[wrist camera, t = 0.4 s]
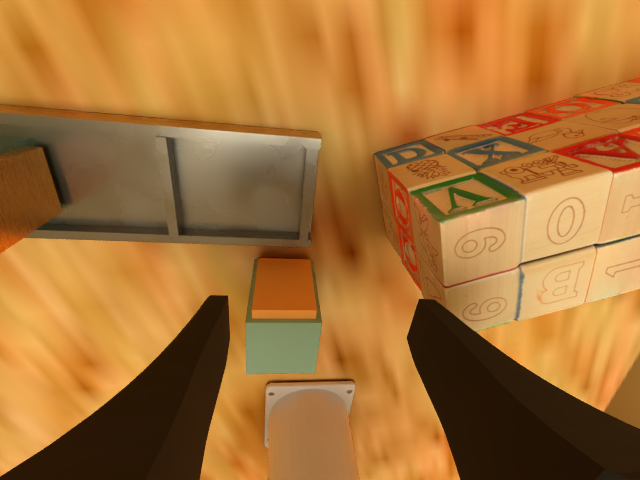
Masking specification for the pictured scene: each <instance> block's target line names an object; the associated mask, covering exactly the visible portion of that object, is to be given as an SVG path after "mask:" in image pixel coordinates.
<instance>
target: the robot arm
mask: <svg viewBox="0 0 640 480" xmlns="http://www.w3.org/2000/svg"><path fill="white" fill-rule="evenodd" d="M229 340H230V330H229V306H228V296H217V295H210V296H209V297H208V298H207V299H206V300H205V302H204V303H203V305H202V306H201V307H200V309H199V310H198V311H197V313H196V314H195V315H194V316H193V318H192V319H191V320H190V321H189V323H188V324H187V325H186V326H185V327H184V328H183V330H182V331H181V332H180V333H179V334H178V335H177V337H176V338H175V339H174V340H173V341H172V342H171V343H170V344H169V345H168V346H167V347H166V348H165V350H164V351H163V352H162V353H161V354H160V355H159V356H158V357H157V358H156V359H155V360H154V361H153V362H152V363H151V364H150V365H149V366H148V367H147V368H146V369H145V370H144V371H143V372H142V373H140V374H139V375H138V376H137V377H136V378H135V379H134V380H133V381H132V382H130V383H129V384H128V385H127V386H126V387H125V388H124V389H122V390H121V391H120V392H119V393H118V394H116V395H115V396H114V397H113V398H112V399H110V400H109V401H108V402H107V403H106V404H104V405H103V406H102V407H101V408H99V409H98V410H97V411H95V412H94V413H93V414H92V415H90V416H89V417H88V418H86V419H85V420H83V421H82V422H81V423H79V424H78V425H77V426H75V427H74V428H72V429H71V430H70V431H68V432H67V433H66V434H64V435H63V436H61V437H60V438H59V439H57V440H56V441H54V442H53V443H52V444H50V445H49V446H47V447H46V448H44V449H43V450H41V451H40V452H38V453H37V454H35V455H33V456H32V457H30V458H29V459H27V460H26V461H24V462H23V463H21V464H19V465H18V466H16V467H15V468H13V469H12V470H10V471H8V472H7V473H5V474H4V475H2V476H1V477H0V480H200V474H201V468H202V462H203V456H204V451H205V445H206V440H207V436H208V431H209V427H210V423H211V419H212V416H213V412H214V408H215V404H216V401H217V397H218V393H219V389H220V386H221V382H222V378H223V374H224V370H225V366H226V361H227V354H228V347H229ZM407 340H408V344H409V347H410V351H411V354H412V357H413V360H414V363H415V366H416V368H417V370H418V373H419V375H420V377H421V379H422V382H423V384H424V386H425V388H426V391H427V393H428V395H429V397H430V399H431V402H432V404H433V406H434V408H435V410H436V413H437V415H438V417H439V419H440V422H441V424H442V427H443V429H444V432H445V434H446V437H447V440H448V443H449V446H450V449H451V452H452V455H453V458H454V461H455V464H456V467H457V470H458V473H459V477H460V480H640V429H638V428H636V427H634V426H632V425H629V424H627V423H625V422H623V421H621V420H619V419H617V418H615V417H613V416H611V415H608V414H606V413H604V412H602V411H600V410H598V409H596V408H594V407H592V406H590V405H589V404H587V403H585V402H583V401H581V400H579V399H577V398H575V397H574V396H572V395H570V394H568V393H566V392H565V391H563V390H561V389H559V388H557V387H556V386H554V385H552V384H551V383H549V382H547V381H545V380H544V379H542V378H541V377H539V376H537V375H536V374H534V373H533V372H531V371H530V370H528V369H526V368H525V367H523V366H522V365H520V364H519V363H517V362H516V361H514V360H513V359H511V358H510V357H509V356H507V355H506V354H504V353H503V352H502V351H500V350H499V349H497V348H496V347H495V346H493V345H492V344H491V343H489V342H488V341H487V340H485V339H484V338H483V337H481V336H480V335H479V334H478V333H476V332H475V331H474V330H472V329H471V328H470V327H469V326H467V325H466V324H465V323H464V322H462V321H461V320H460V319H459V318H458V317H456V316H455V315H454V314H453V313H451V312H450V311H449V310H448V309H446V308H445V307H444V306H442V305H441V304H440V303H438V302H437V301H436V300H434V299H419V301H418V304H417V307H416V311H415V314H414V317H413V320H412V323H411V326H410V329H409V333H408V336H407ZM355 388H356V386H355V383H354V382H353V381H333V382H293V383H270V384H268V385H267V386H266V403H265V440H264V446H265V447H267V448H268V469H267V480H360V479H359V473H358V468H357V462H356V457H355V452H354V446H353V441H352V435H351V430H350V425H349V419H348V418H349V413H350V409H351V405H352V401H353V397H354V392H355Z"/></svg>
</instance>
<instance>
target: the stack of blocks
mask: <svg viewBox="0 0 640 480" xmlns="http://www.w3.org/2000/svg"><path fill="white" fill-rule="evenodd" d="M374 160H375V166H376V172H377V178H378V184H379V190H380V196H381V204H382V211H383V217H384V223H385V228H386V232H387V237H388V239H389V241H390V242H391V244H392V246H393V247H394V249H395V250H396V252H397V253H398V255H399V256H400V258H401V259H402V263H403V264H404V266H405V267H406V269H407V270H408V272H409V274H410V275H411V277H412V278H413V280H414V282H415V283H416V285H417V286H418V287H419V289H420V290H421V291H422V295H423V298H424V299H434V300H436V301H437V302H438V303H440V304H441V305H442V306H444V307H445V308H446V309H448V310H449V311H450V312H451V313H453V314H454V315H455V316H456V317H458V318H459V319H460V320H461V321H462V322H464V323H465V324H466V325H467V326H469V327H470V328H471V329H472V330H474V331H475V332H477V331H480V330H484V329H488V328H492V327H495V326H499V325H503V324H507V323H509V322H511V321H512V320H516V321H522V320H526V319H530V318H533V317H537V316H541V315H545V314H548V313H552V312H556V311H560V310H563V309H567V308H571V307H575V306H578V305H580V304H582V303H589V302H595V301H598V300H601V299H605V298H609V297H613V296H616V295H619V294H623V293H626V292H630V291H633V290H637V289H640V78H637V79H633V80H630V81H627V82H623V83H619V84H615V85H611V86H607V87H603V88H600V89H596V90H593V91H589V92H586V93H582V94H579V95H576V96H575V97H574V98H572V99H569V100H564V101H561V102H557V103H555V104H550V105H546V106H543V107H539V108H536V109H532V110H529V111H526V112H524V113H523V114H518V115H514V116H511V117H507V118H503V119H500V120H496V121H493V122H489V123H486V124H482V125H479V126H468V127H465V128H461V129H457V130H454V131H450V132H446V133H443V134H439V135H435V136H432V137H429V138H426V139H424V140H421V141H416V142H412V143H409V144H405V145H401V146H398V147H395V148H391V149H388V150H384V151H380V152H377V153H375V154H374Z"/></svg>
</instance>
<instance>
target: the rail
mask: <svg viewBox="0 0 640 480" xmlns="http://www.w3.org/2000/svg"><path fill="white" fill-rule="evenodd" d="M321 141H322V139H321V137H320V135H319V133H318V132H314V131H302V130H291V129H279V128H267V127H256V126H244V125H233V124H221V123H209V122H198V121H186V120H175V119H163V118H152V117H140V116H128V115H117V114H105V113H94V112H82V111H70V110H59V109H47V108H36V107H24V106H12V105H1V104H0V253H2V252H3V251H5V250H6V249H8V248H9V247H11V246H12V245H14V244H15V243H17V242H18V241H20V240H21V239H23V238H48V239H77V240H106V241H135V242H163V243H192V244H221V245H250V246H279V247H308V248H311V242H312V240H311V225H312V215H313V204H314V194H315V184H316V173H317V163H318V153H319V149H321Z"/></svg>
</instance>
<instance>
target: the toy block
mask: <svg viewBox="0 0 640 480" xmlns="http://www.w3.org/2000/svg"><path fill="white" fill-rule="evenodd" d="M321 326H322V320H321V313H320V306H319V299H318V293H317V286H316V279H315V272H314V265H313V261H310V259H279V258H258V260H255V261H254V268H253V275H252V281H251V288H250V295H249V301H248V308H247V315H246V322H245V331H246V374H288V373H315V370H316V362H317V355H318V348H319V341H320V333H321Z"/></svg>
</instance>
